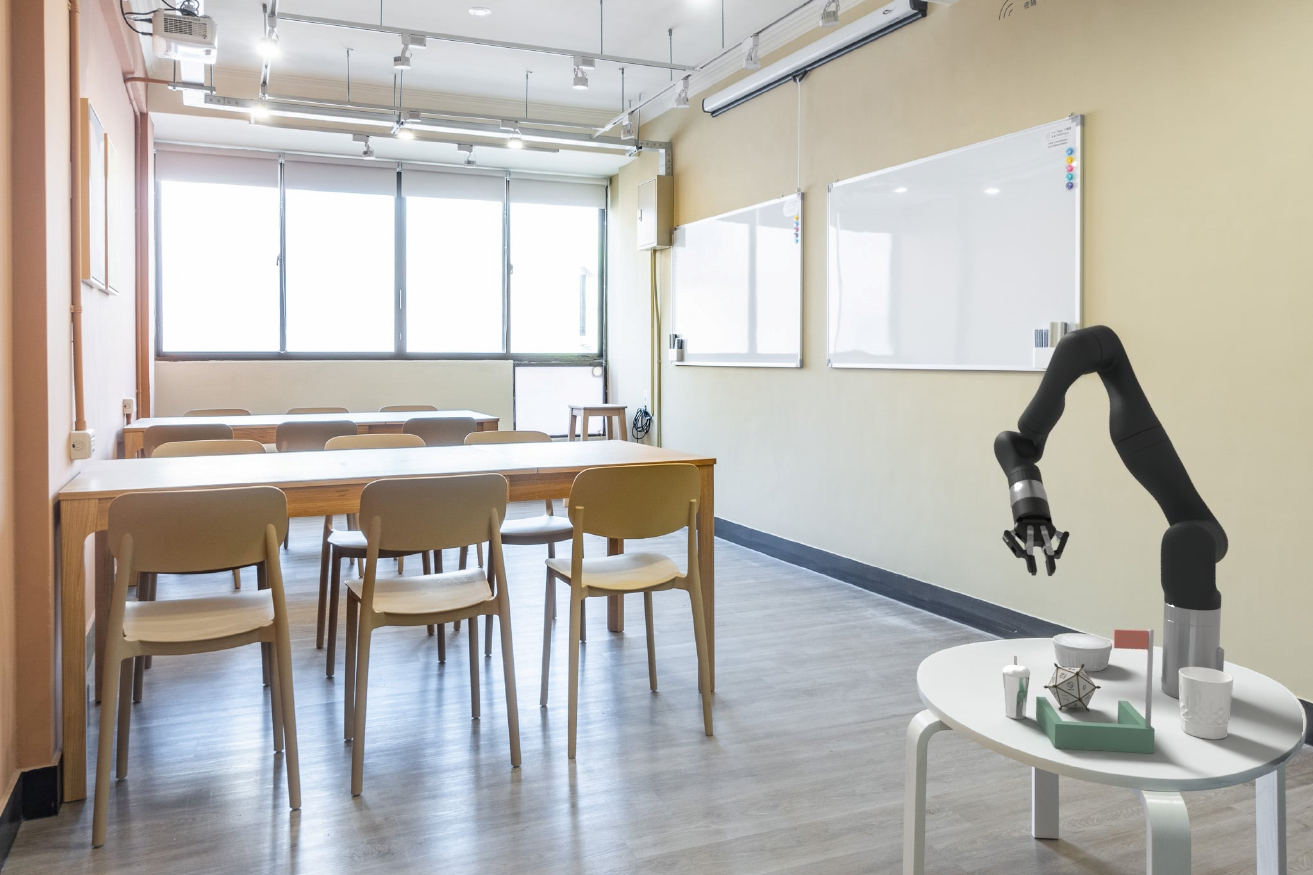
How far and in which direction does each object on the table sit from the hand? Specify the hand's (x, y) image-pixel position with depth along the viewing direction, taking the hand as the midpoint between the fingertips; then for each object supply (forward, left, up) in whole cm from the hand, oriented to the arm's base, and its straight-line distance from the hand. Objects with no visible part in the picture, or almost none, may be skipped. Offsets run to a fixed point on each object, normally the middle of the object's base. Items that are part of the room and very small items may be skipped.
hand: (1042, 573), depth 183 cm
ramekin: (-9, -4, -20) cm, 23 cm away
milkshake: (+11, +27, -20) cm, 35 cm away
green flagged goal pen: (0, +34, -20) cm, 40 cm away
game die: (0, +22, -20) cm, 30 cm away
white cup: (-19, +30, -20) cm, 41 cm away
